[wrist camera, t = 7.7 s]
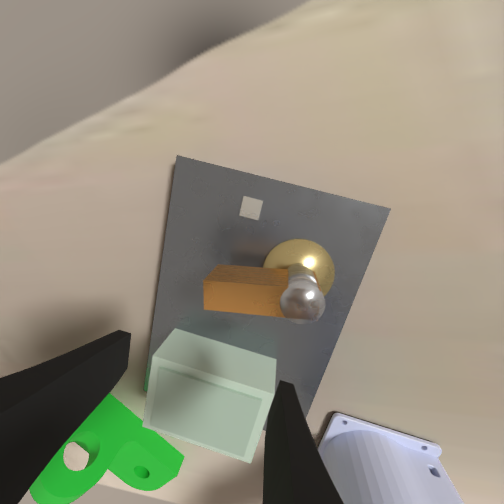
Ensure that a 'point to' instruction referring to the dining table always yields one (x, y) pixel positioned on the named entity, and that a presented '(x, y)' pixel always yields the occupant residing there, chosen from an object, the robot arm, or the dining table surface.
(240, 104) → the dining table surface
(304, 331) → the latch plate
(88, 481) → the mechanical part
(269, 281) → the t key
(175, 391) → the cover
